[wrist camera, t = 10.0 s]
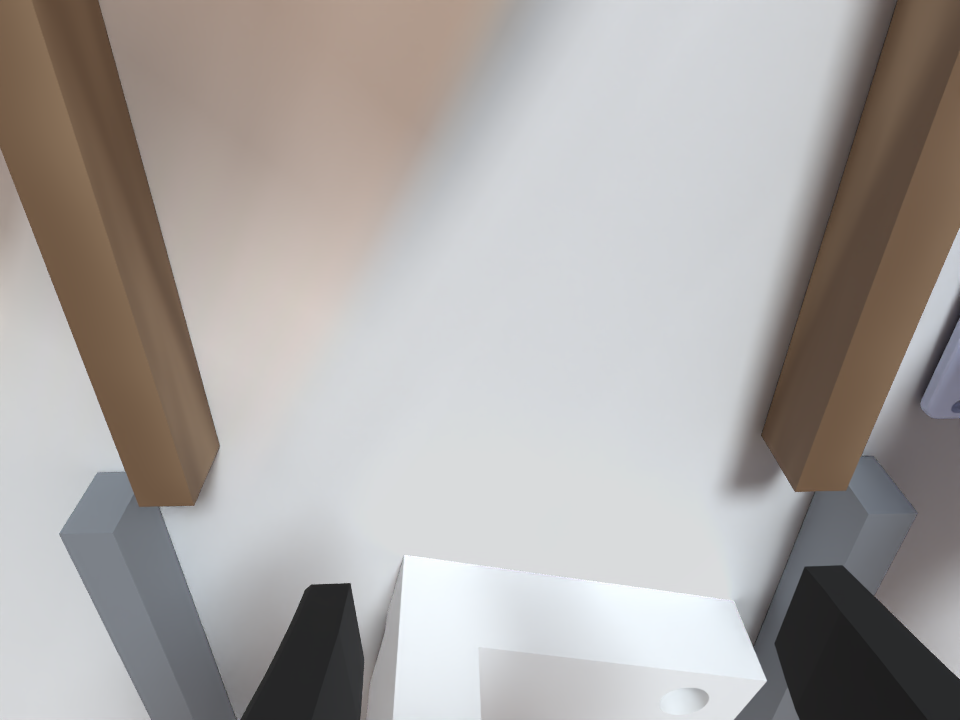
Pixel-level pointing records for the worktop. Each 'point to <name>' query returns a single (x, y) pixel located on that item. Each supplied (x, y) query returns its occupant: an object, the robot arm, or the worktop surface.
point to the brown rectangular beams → (164, 334)
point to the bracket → (555, 649)
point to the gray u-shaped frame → (192, 669)
